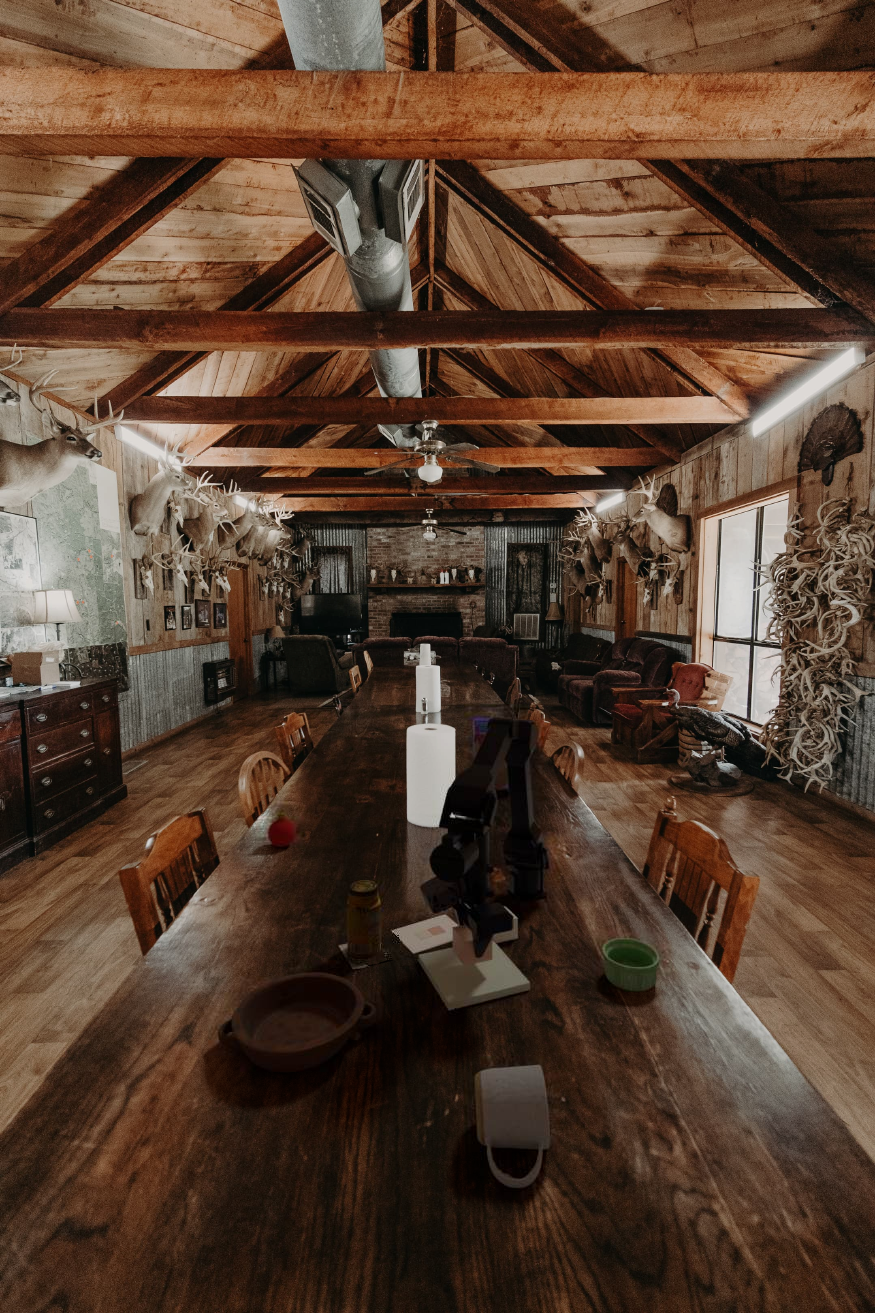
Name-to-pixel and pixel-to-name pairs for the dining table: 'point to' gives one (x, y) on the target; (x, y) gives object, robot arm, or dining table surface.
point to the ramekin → (630, 964)
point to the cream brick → (509, 934)
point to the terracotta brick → (468, 946)
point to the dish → (297, 1021)
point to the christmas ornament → (282, 831)
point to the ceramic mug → (512, 1115)
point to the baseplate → (472, 977)
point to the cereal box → (478, 736)
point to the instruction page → (426, 933)
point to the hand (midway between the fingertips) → (472, 948)
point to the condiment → (362, 923)
